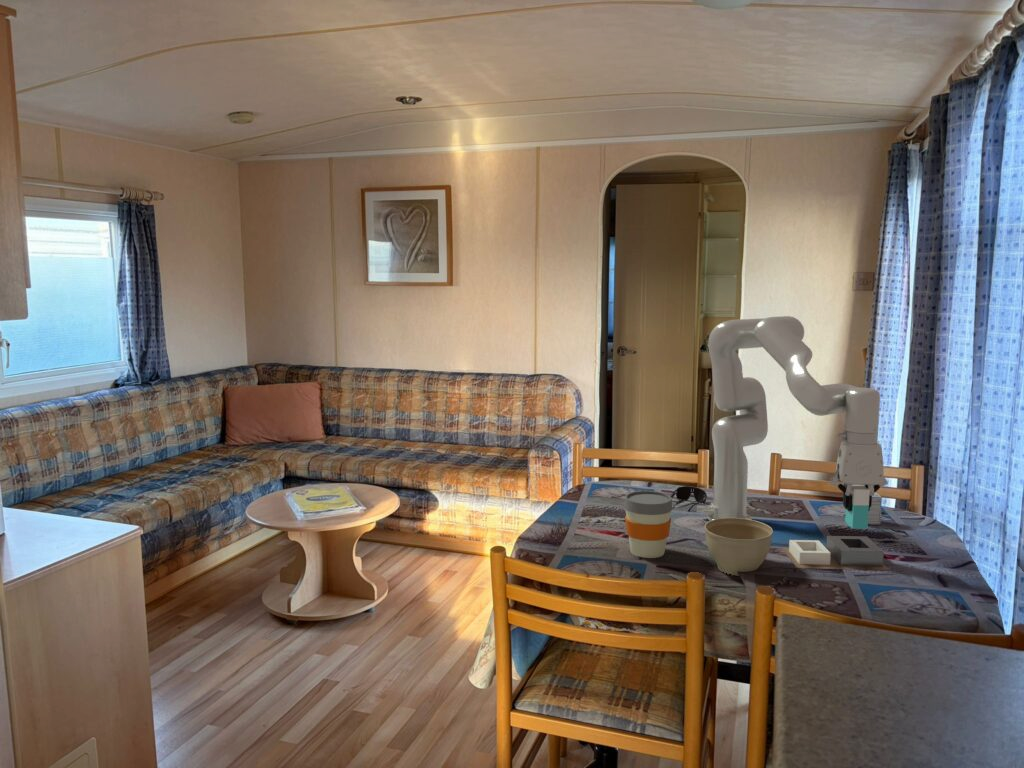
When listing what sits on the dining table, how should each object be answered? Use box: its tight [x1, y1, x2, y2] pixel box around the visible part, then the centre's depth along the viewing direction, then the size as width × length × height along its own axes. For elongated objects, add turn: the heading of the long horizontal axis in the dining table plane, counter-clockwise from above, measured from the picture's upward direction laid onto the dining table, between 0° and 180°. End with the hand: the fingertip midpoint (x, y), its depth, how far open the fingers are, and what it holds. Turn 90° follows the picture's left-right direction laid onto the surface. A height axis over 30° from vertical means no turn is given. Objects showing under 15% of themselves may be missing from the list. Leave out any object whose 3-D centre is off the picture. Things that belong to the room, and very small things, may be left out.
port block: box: [825, 535, 885, 567], centre depth 187 cm, size 10×10×4 cm
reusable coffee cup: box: [623, 490, 673, 559], centre depth 196 cm, size 13×13×15 cm
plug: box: [844, 485, 870, 530], centre depth 185 cm, size 4×5×10 cm
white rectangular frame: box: [788, 539, 831, 565], centre depth 188 cm, size 7×9×3 cm
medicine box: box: [868, 492, 883, 525], centre depth 218 cm, size 8×4×9 cm, turn 84°
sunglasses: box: [669, 485, 708, 512], centre depth 237 cm, size 10×12×5 cm
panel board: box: [781, 546, 891, 571], centre depth 188 cm, size 22×14×2 cm, turn 85°
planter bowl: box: [704, 518, 774, 577], centre depth 184 cm, size 16×16×11 cm
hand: (856, 508), depth 185 cm, fingers closed on plug, 3 cm apart
